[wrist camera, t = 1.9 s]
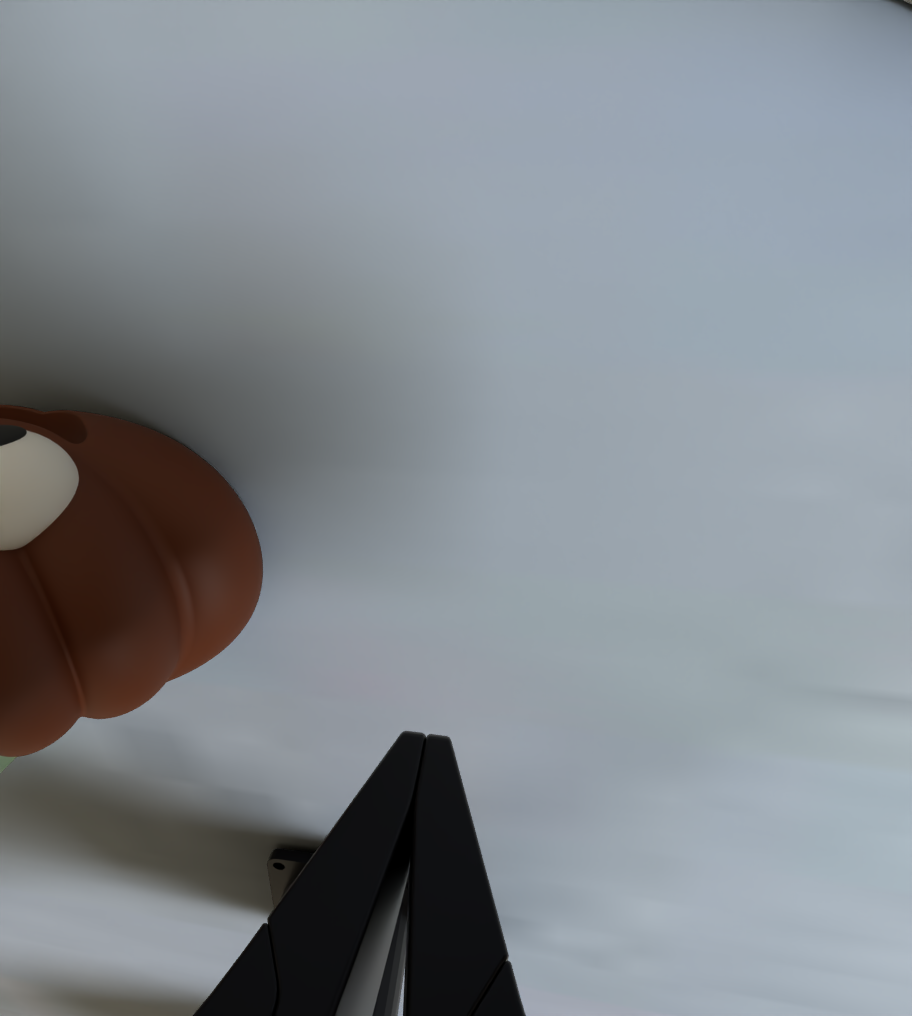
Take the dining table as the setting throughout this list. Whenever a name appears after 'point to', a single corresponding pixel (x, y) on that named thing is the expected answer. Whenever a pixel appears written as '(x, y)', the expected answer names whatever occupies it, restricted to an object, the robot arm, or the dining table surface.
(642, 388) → the dining table surface
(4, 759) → the deck
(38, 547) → the poop emoji
